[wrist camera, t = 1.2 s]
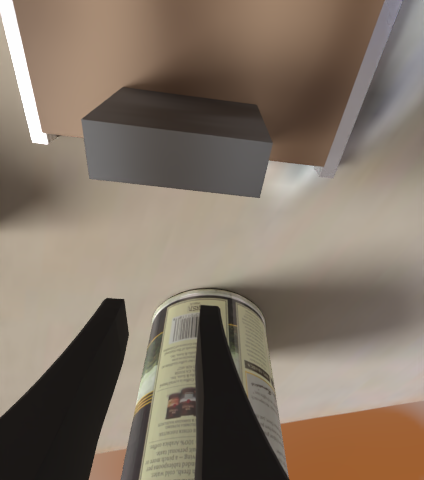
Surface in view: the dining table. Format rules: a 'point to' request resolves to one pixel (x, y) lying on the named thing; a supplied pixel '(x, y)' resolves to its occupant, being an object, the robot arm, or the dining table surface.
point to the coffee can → (183, 384)
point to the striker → (195, 84)
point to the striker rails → (3, 3)
